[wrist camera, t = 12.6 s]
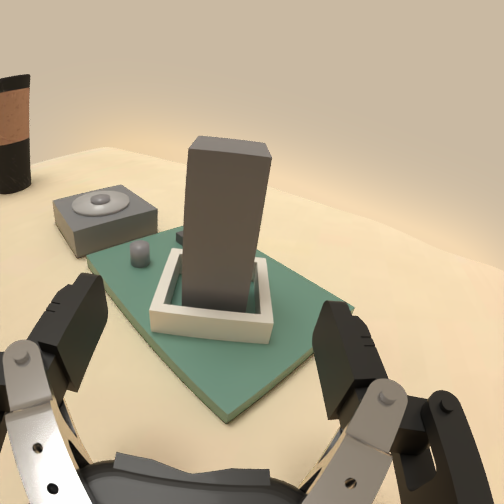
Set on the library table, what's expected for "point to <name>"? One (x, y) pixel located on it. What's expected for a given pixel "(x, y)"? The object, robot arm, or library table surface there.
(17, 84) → the travel mug
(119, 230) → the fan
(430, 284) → the library table surface
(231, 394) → the board
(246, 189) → the gray block
